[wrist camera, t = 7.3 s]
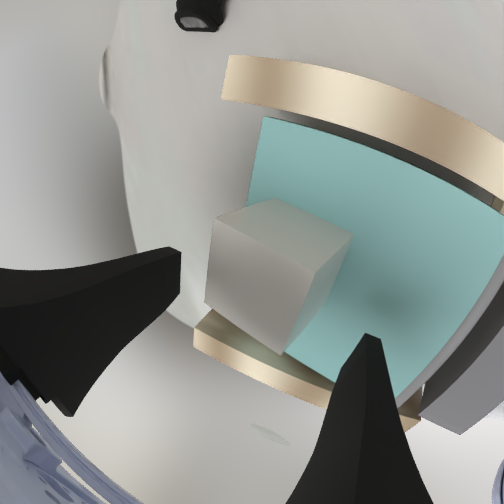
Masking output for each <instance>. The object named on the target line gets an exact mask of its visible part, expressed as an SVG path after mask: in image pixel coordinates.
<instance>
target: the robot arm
mask: <svg viewBox="0 0 504 504" xmlns="http://www.w3.org/2000/svg"><path fill="white" fill-rule="evenodd" d="M180 272H181V252H180V251H178V250H176V249H173V248H171V247H164V248H159V249H154V250H150V251H146V252H142V253H138V254H134V255H130V256H127V257H122V258H119V259H114V260H110V261H105V262H101V263H97V264H92V265H86V266H81V267H74V268H66V269H54V270H13V269H5V268H0V504H106V503H104V502H103V501H102V500H100V499H99V498H98V497H96V496H95V495H94V494H93V493H91V492H90V491H89V490H88V489H86V488H85V487H84V486H83V485H81V484H80V483H79V482H78V481H77V480H76V479H75V478H74V477H72V476H71V475H70V474H69V473H68V472H67V471H66V470H65V469H64V468H63V467H62V466H61V465H60V464H61V463H62V460H61V458H62V459H63V460H64V461H65V463H66V464H67V465H68V466H69V467H70V468H71V469H72V470H73V471H74V472H75V473H76V474H77V475H78V476H80V477H81V478H82V479H83V480H84V481H85V482H86V483H87V484H88V485H89V486H90V487H92V488H93V489H94V490H95V491H96V492H97V493H98V494H100V495H101V496H102V497H103V498H105V499H106V500H107V501H108V502H109V503H111V504H144V503H142V502H140V501H139V500H138V499H136V498H135V497H134V496H132V495H131V494H129V493H128V492H127V491H125V490H124V489H123V488H121V487H120V486H119V485H117V484H116V483H115V482H114V481H112V480H111V479H110V478H109V477H108V476H106V475H105V474H104V473H103V472H102V471H100V470H99V469H98V468H97V467H96V466H95V465H94V464H93V463H91V462H90V461H89V460H88V459H87V458H86V457H85V456H84V455H83V454H82V453H81V452H80V451H79V450H78V449H77V448H76V447H75V446H74V445H73V444H72V443H71V442H70V441H69V440H68V439H67V438H66V437H65V436H64V435H63V434H62V433H61V431H60V430H59V429H58V428H57V427H56V426H55V425H54V423H53V422H52V421H51V420H50V419H49V417H48V416H47V415H46V414H45V413H44V412H43V410H42V409H41V408H40V406H39V405H38V404H37V402H36V400H37V399H38V398H39V397H41V398H42V400H43V401H44V402H45V403H48V402H49V401H50V400H52V402H53V403H54V404H55V405H56V406H57V408H58V409H59V410H60V411H61V412H62V413H63V414H64V415H65V416H68V417H73V416H74V414H75V412H76V410H77V409H78V407H79V405H80V404H81V402H82V400H83V399H84V397H85V396H86V394H87V393H88V391H89V390H90V388H91V387H92V385H93V384H94V383H95V382H96V380H97V379H98V377H99V376H100V375H101V374H102V372H103V371H104V370H105V369H106V367H107V366H108V365H109V364H110V363H111V362H112V360H113V359H114V358H115V357H116V356H117V355H118V353H119V352H120V351H121V350H122V349H123V348H124V347H125V346H126V345H127V344H128V343H129V342H130V341H132V340H133V339H134V338H135V337H136V336H137V335H138V334H139V333H141V332H142V331H143V330H144V329H145V328H146V327H147V326H149V325H150V324H151V323H152V322H153V321H154V320H155V319H156V318H157V317H159V316H160V315H161V314H162V313H163V312H164V311H165V310H166V309H167V308H168V307H169V305H170V304H171V303H172V302H173V301H174V300H175V298H176V297H177V296H178V295H179V293H180ZM32 424H33V425H34V427H35V428H36V429H37V430H38V432H39V433H40V434H41V435H42V436H41V435H40V434H39V433H38V432H37V431H35V430H34V429H33V428H32ZM59 456H60V457H61V458H60V457H59ZM286 504H433V502H432V500H431V498H430V496H429V494H428V492H427V489H426V487H425V485H424V483H423V481H422V478H421V476H420V474H419V471H418V469H417V466H416V464H415V461H414V459H413V456H412V454H411V451H410V448H409V445H408V442H407V439H406V436H405V433H404V430H403V427H402V423H401V420H400V416H399V412H398V409H397V405H396V401H395V397H394V393H393V389H392V385H391V380H390V376H389V372H388V367H387V363H386V358H385V354H384V350H383V345H382V341H381V339H380V338H377V337H375V336H372V335H370V334H367V333H365V334H364V335H363V337H362V338H361V340H360V341H359V343H358V344H357V346H356V347H355V349H354V350H353V352H352V353H351V355H350V356H349V357H348V359H347V360H346V362H345V363H344V364H343V366H342V367H341V369H340V372H339V374H338V377H337V380H336V382H335V385H334V388H333V390H332V393H331V397H330V400H329V404H328V408H327V411H326V415H325V418H324V421H323V425H322V428H321V431H320V434H319V438H318V441H317V444H316V446H315V449H314V452H313V454H312V456H311V458H310V461H309V463H308V465H307V467H306V469H305V471H304V473H303V475H302V476H301V478H300V480H299V482H298V484H297V485H296V487H295V489H294V491H293V493H292V494H291V496H290V498H289V499H288V501H287V502H286ZM492 504H504V460H503V461H502V463H501V465H500V467H499V469H498V472H497V475H496V478H495V481H494V485H493V490H492Z"/></svg>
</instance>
